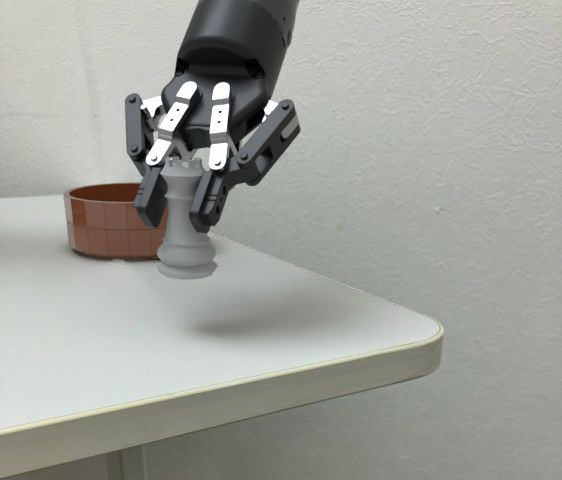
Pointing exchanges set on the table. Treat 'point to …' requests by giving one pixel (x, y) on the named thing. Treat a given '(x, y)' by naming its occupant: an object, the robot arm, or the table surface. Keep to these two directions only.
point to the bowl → (110, 222)
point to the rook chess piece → (184, 224)
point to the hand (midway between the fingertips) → (172, 222)
